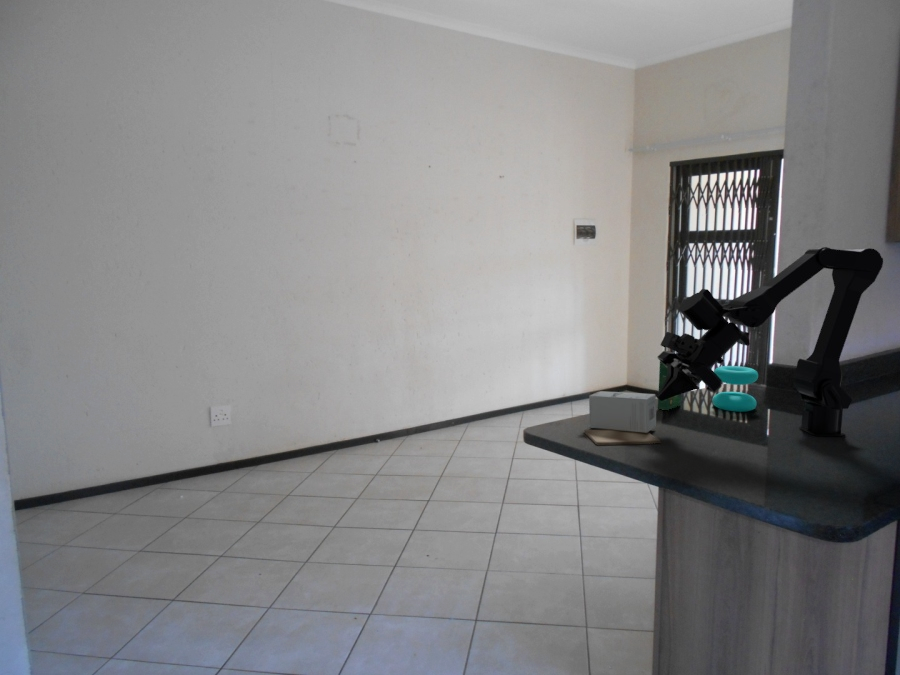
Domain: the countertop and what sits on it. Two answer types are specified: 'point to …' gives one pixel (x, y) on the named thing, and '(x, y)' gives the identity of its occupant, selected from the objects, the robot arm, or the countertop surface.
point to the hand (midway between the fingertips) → (658, 399)
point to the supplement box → (622, 411)
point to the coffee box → (668, 402)
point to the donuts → (735, 399)
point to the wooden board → (620, 437)
